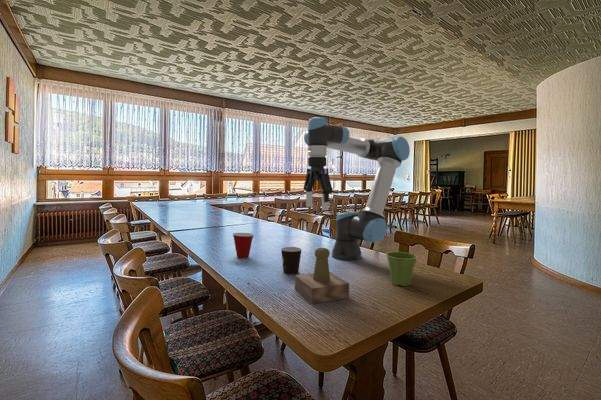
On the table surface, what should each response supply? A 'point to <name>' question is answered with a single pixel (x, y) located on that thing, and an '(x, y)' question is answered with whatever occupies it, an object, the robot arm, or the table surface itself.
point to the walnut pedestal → (321, 288)
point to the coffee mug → (291, 259)
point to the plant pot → (401, 267)
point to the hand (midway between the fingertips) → (316, 208)
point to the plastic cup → (243, 244)
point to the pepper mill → (321, 265)
